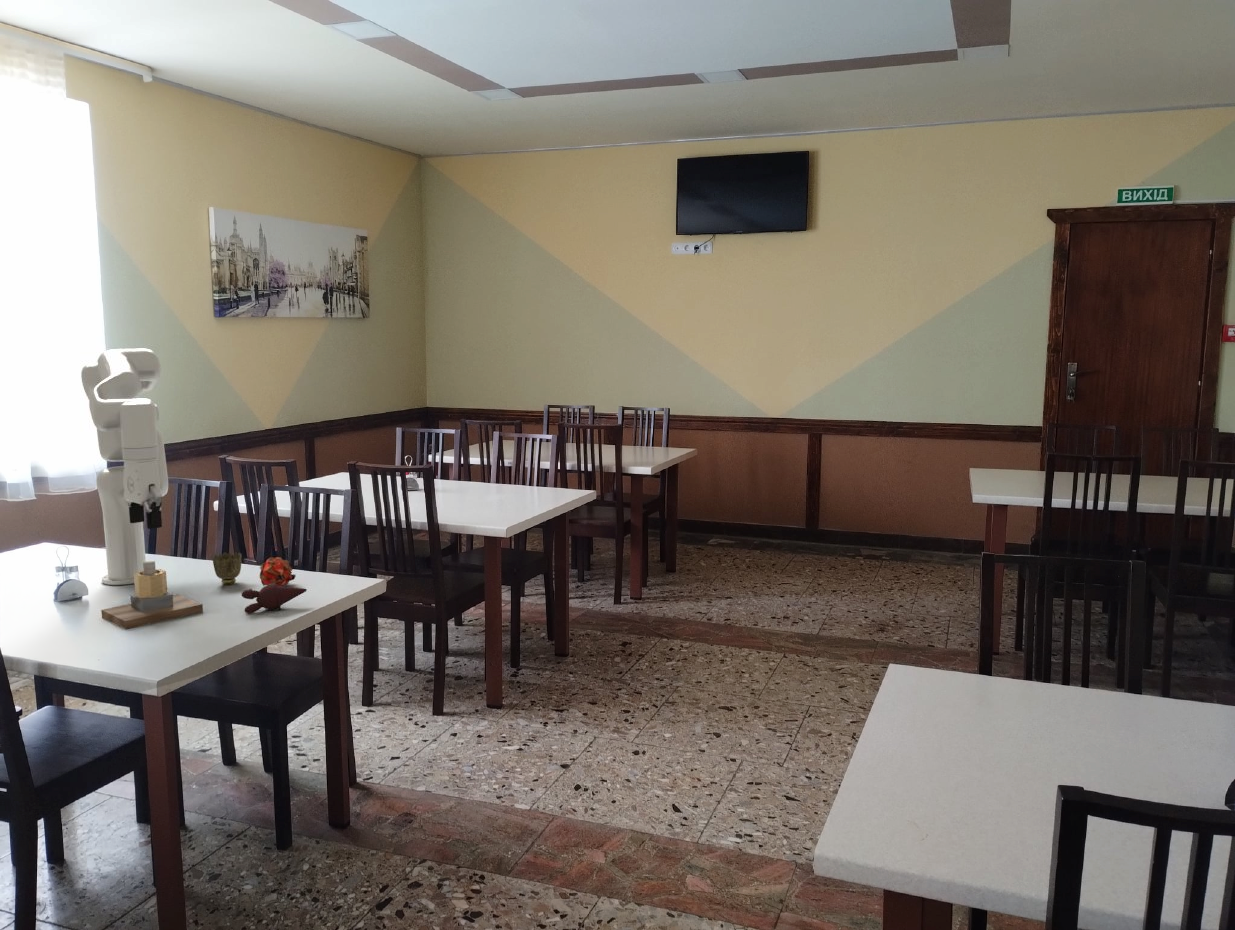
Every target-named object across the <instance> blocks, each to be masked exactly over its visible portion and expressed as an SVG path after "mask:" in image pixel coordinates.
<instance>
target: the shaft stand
mask: <svg viewBox="0 0 1235 930" xmlns="http://www.w3.org/2000/svg"><path fill="white" fill-rule="evenodd" d="M143 571H144V575H152V574H156V560H155V561H154V560H148V561H146V562H143ZM129 596H130V603H127V604H121V605H118V606H113V607H108V608H104V609H101V610H100V611H101V612H100V613H101V619H103V620H105V621H107V622H110V623H111V624H113V625H116V626H118V627H120V628H122V629H124V630H129V629H134V628H138V627H143V626H147V625H151V624H156V623H162V622H165V621H169V620H173V619H178V618H182V617H183V618H184V617H187V616H192V615H195V614H196V615H197V614H200V613H204V605H203V603H202V602H198V601H195V600H193V599H190V598H187V597H186V596H183V595H180V594H177V593H176V594H173V593H170V592H168V593H167V594H165V595H164V596H161V597H156V598H146V599H140V598H137V597H135V594H131V595H129Z"/></svg>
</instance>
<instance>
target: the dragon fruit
mask: <svg viewBox="0 0 1235 930" xmlns="http://www.w3.org/2000/svg"><path fill="white" fill-rule="evenodd" d="M290 563H291V562H290V561H289V560H287V559H282V557H269V558H268V559H266V561H265V562H263V563H262V564H261V565H260V567H259V569H260V572H259V579H260V580H261V581H260V582H261V584H262V586H264V587H265V586H267V585H269V584H272V583H274V582H275V583H276V585H277V586H284V585H286V586H287V585H288V584H289V583H290V582H291V581H294V580H295V579H296V574H293V572H292V571H293V568H292V566H291V565H290Z"/></svg>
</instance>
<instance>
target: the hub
mask: <svg viewBox="0 0 1235 930" xmlns="http://www.w3.org/2000/svg"><path fill="white" fill-rule="evenodd" d="M155 569H156V568H155ZM167 581H168V580H167V570H164V569H160V568H157V569H156V574H152V575H144V571H139V572H137V573H135V574H134V583H133V584H134V595H135V597H137V598H140V599H146V598H156V597H161V596H164V595H165V594H167V593H169V592H168V584H167V583H168V582H167Z"/></svg>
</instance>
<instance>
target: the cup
mask: <svg viewBox="0 0 1235 930" xmlns="http://www.w3.org/2000/svg"><path fill="white" fill-rule="evenodd" d="M242 555H243V554H242V553H241V552H238V553H237V552H235V553H234V554H233V555H232V554H231V552H228V553H227V552H223V553H222V554H220V553H218V555H216V554H215V555H212V556H211V559H212V565H213V569H214V573H215V575H216V577H217V578H218V579H221V584H222V585H224V586H231V585H234V584H236V582H237V579H236V578H237V577H239V575H240V573H241V570H242V557H243V556H242ZM230 584H231V585H230Z"/></svg>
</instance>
